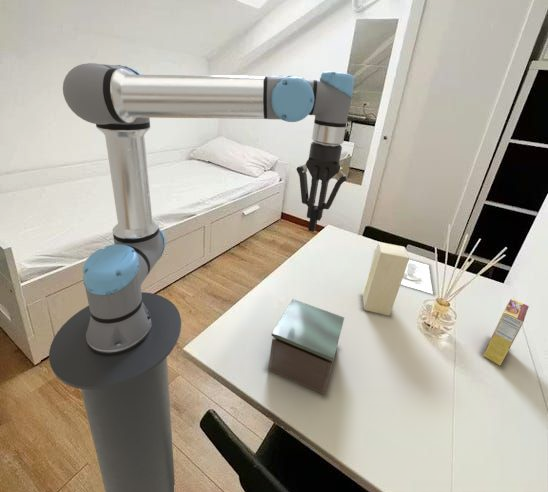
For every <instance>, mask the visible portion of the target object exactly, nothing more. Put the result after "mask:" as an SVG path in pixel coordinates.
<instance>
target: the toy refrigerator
mask: <svg viewBox="0 0 548 492" xmlns="http://www.w3.org/2000/svg"><path fill="white" fill-rule="evenodd" d="M409 260H410V256H409V253H408V252H407V249H406V247H405V246H403V245H397V244H392V243H387V242H382V241H378V242H377V245H376V249H375V252H374V255H373V259H372V262H371V266H370V270H369V273H368V277H367V279H366V282H365V283H366V284H365V287H364V290H363V293H362V304H363V310H364V311H367V312H371V313H376V314H380V315H384V316H391V313H392V311H393V307H394V305H395V301H396V299H397V296H398V293H399V290H400V287H401V281H402V279H403V276H404V273H405V270H406V267H407V264H408V261H409Z"/></svg>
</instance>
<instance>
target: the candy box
mask: <svg viewBox="0 0 548 492" xmlns="http://www.w3.org/2000/svg"><path fill="white" fill-rule="evenodd" d="M529 307H530V306H529V305H527V304H525V303H523V302H521V301H519V300H516V299H514V298H510V299H509V301H508V303H507V304H506V306H505V308H504V311H503V313H502V314H501V317H500V319H499V321H498V323H497V325H496V327H495V329H494V331H493V333H492V335H491V337H490V340H489V342H488V344H487V345H486V348H485V351H484V353H483V355H482V356H483V357H484V358H486V359H487V360H489V361H490V362H492V363H494V364H496V365H497V366H501V365H502V363H503V362H504V360H505V358H506V356H507V354H508V352H509V351H510V348H511V347H512V345H513V343H514V341H515V339H516V337H517V336H518V334H519V331H520V330H521V328H522V326H523V324H524V322H525V319H526V315H527V312H528V309H529Z"/></svg>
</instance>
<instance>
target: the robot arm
mask: <svg viewBox="0 0 548 492" xmlns="http://www.w3.org/2000/svg"><path fill="white" fill-rule="evenodd" d="M354 85H355V77H354V76H353V75H352V74H350V73H346V72H336V71H323V72H322V73H320V77H319V79H307V78H306V79H305V78H304V77H301V76H299V75H288V76H284V75H270V76H260V75H259V76H258V75H257V76H256V75H193V74H192V75H191V74H190V75H189V74H188V75H186V74H175V75H174V74H143V73H141V72H140V71H138V70H137V69H134V68H132V67H128V66H126V65H121V64H104V63H95V62H87V63H82V64H81V63H80V64H77V65H76V66H73V68H72V69H70V70H69V71H68V72H67V74H66V75H65V76H64V79H63V84H62V94H63V97H64V100H65V103H66V104H67V106H68V108H69V109H70V110H71V111H72V113H73V114H75V115H76V116H77V117H78V118H80V119H82V120H83V121H85V122H87V123H90V124H94V125H95V128H96V129H97V130H99V131H100V132H101V133H102V134H103V135H104V139H105V145H106V151H107V152H106V153H107V157H108V158H107V159H108V165H109V172H110V179H111V185H112V192H113V199H114V206H115V213H116V221H117V224H115V225H114V226H113V228H112V237H113V244H111V245H107V246H104V248H99V249H97V250H95V251H94V252H92V253H91V254H90V255H89V256H88V257H87V258H86V260H85V261H84V263H83V267H82V282H83V286H84V288H85V293H86V298H87V302H88V306H89V308H90V313H91V317H90V322H89V326H88V328H87V332H86V340H87V344H88V347H89V348H90V350H91V351H93V352H94V353H96V354H99V355H104V356H112V355H119V354H122V353H125V352H128V351H130V350H132V349H134V348H136V347H137V346H138V345H140V344H141V343H142V342H143V341H144V340H145V339H146V338H147V337H148V335H149V333H150V331H151V328H152V321H151V317H152V316H151V314H150V313H149V312H148V310H147V309H146V307H145V305H144V304H143V302H142V294H141V292H142V284H143V282H144V281H145V279H146V278H147V277H148V275H149V274H150V273H151V271H152V269H153V268H154V267H155V265H156V264H157V262H158V261H159V260H160V259H161V258H162V256H163V254H164V252H165V249H166V245H167V239H166V235H165V233H164V232H163V230H161V229H160V226H159V223H158V221H156V220H154V219H153V211H152V203H151V190H150V181H149V170H148V161H147V149H146V139H145V138H146V137H145V136H146V133H147V132H148V131H150V129H151V119H152V118H153V119H157V118H158V119H230V120H231V119H237V120H239V119H240V120H242V119H243V120H245V119H247V120H280V121H283V122H284V121H285V122H287V123H298V122H300V121H302V120H305V119H306V117H308V116H314V121H313V127H312V133H311V140H312V141H311V143H310V146H309V147H310V148H309V152H308V159H307V160H306V161H305V163H304V164H300V165H298V166H297V168H296V172H297V174H298V176H299V185H300V186H299V187H300V197H301V198H300V199H301V203H302V204H303V205H306V206H307V210H306V218H307V219H309V222H308V227H307V228H308V229H307V231H308V232H311V233H314V232H315V230H316V229H317V224H318V221H321V219H322V217H323V214H324V210H329V209H330V208H331V206H332V205H333V202H334V201H335V198H336V196H337V194H338V192H339V190H340V188H341V187H342V184H343V183H345V182H346V181H347V179H348V174H347V173H344V172H343V171H341V165H340V160H341V156H342V151H343V146H342V144H344V139H345V134H346V128H347V124H348V123H347V122H348V117H349V113H350V108H351V103H352V99H353V97H354V96H353V93H354ZM307 172H309V175H310V177H311V183H310V184H311V185H310V189H309V186H308V174H307ZM335 176H336V179H335V180H336V183H334V186H333V189H332V190H331V192H330V195H329V196H328V199H327V201H326V197H327V194H328V193H327V192H328V188H329V183H330V181H331V180H332V179H333V178H334V177H335ZM319 182H321V183H320V192H319V197H318V203H317V205H316V198H317V193H318V188H319V187H318V186H319Z"/></svg>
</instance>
